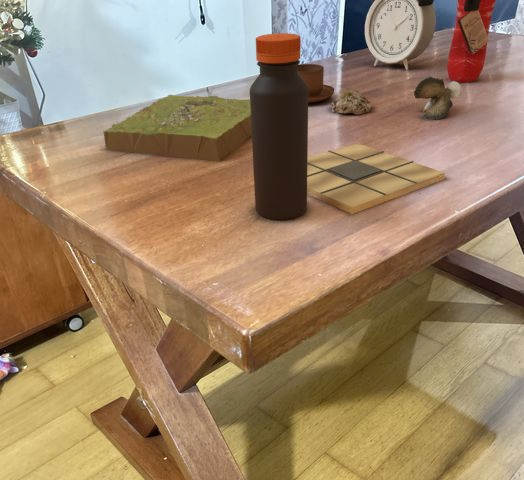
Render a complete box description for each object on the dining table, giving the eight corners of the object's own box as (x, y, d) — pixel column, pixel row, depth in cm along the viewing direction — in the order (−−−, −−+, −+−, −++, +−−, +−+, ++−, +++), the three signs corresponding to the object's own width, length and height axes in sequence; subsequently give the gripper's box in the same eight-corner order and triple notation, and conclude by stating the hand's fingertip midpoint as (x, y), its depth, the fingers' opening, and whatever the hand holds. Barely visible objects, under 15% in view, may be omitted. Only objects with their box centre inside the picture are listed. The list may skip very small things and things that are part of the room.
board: (444, 179, 77) (445, 171, 76) (351, 214, 69) (352, 205, 68) (356, 149, 89) (356, 141, 88) (268, 176, 81) (268, 168, 80)
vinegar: (245, 215, 70) (234, 40, 58) (272, 196, 75) (267, 30, 62) (291, 225, 67) (289, 43, 55) (316, 205, 72) (320, 33, 59)
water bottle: (479, 88, 116) (507, -57, 100) (440, 87, 118) (462, -56, 103) (483, 76, 125) (509, -60, 109) (447, 74, 127) (468, -59, 111)
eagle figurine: (415, 98, 107) (402, 101, 100) (441, 66, 103) (430, 65, 96) (443, 124, 107) (432, 128, 100) (470, 93, 102) (461, 94, 95)
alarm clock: (358, 66, 138) (365, -39, 125) (376, 60, 143) (384, -42, 130) (417, 73, 130) (431, -40, 116) (433, 66, 135) (449, -43, 121)
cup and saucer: (292, 110, 108) (292, 77, 104) (268, 97, 117) (267, 66, 113) (344, 101, 112) (346, 69, 108) (316, 90, 121) (317, 59, 117)
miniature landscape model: (105, 150, 94) (98, 120, 90) (172, 112, 110) (168, 86, 107) (218, 161, 87) (215, 129, 84) (271, 120, 104) (270, 91, 101)
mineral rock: (372, 104, 101) (332, 90, 101) (364, 127, 104) (325, 114, 104) (378, 92, 109) (340, 79, 110) (370, 113, 112) (334, 101, 113)
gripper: (534, -129, 78) (504, 10, 89) (439, -121, 89) (423, 1, 100) (502, -129, 75) (475, 15, 86) (408, -121, 86) (394, 6, 97)
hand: (447, 8), depth 93 cm, fingers open, 9 cm apart
